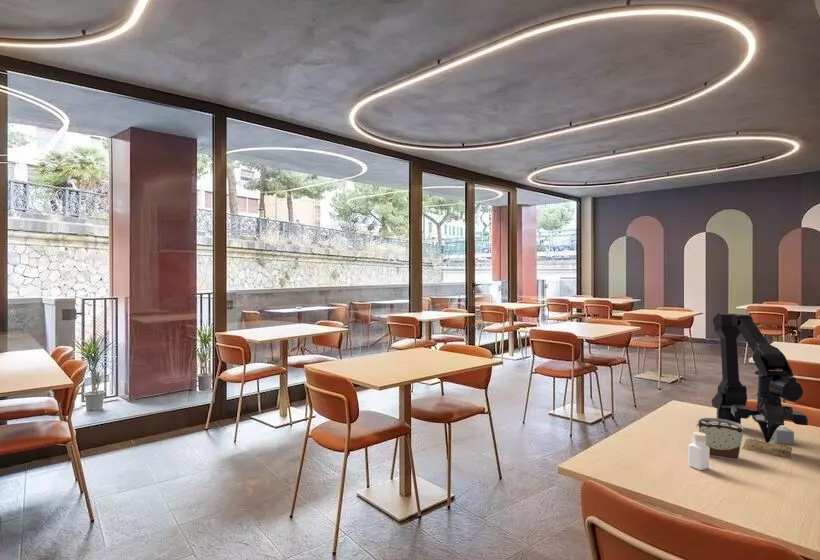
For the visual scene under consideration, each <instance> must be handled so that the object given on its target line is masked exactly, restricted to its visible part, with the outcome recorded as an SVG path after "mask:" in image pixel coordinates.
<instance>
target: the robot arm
mask: <svg viewBox="0 0 820 560" xmlns="http://www.w3.org/2000/svg"><path fill="white" fill-rule="evenodd" d="M712 324H713V327H714V328H713V329H714V331H715V334H716V335H717V336H718V337H719V338H720V353H721V355H720V356H721V375H722V380H721V381H720V383H719V384H718V386H717V393H716V394H715V395H714V396H713V398H712V399H711V405H712V407H714V408H715V409H716V418H718V419H724V420H729V421H733V422H736V423H738V424H741V425H742V423H741V422H742V421H741V420H742V419H745V420H747V419H749V418H750V417H751V418H752V419H753V421H754V422H755V423H757V424H758V426H759V428H760V431H761V434H762V436H763V439H764V442H768V443H771V442H770V441H772V440H771V438H772V436H773V434H774V432H775V430H776V429H777V428H778V427H781V426H785V421H788V420H789V421H792V422H793V424H795V425H800V426H808V425H809V419H808V416H807V415H805V414H804V413H803V412H801V411H797V410H794V409H793V407H792V406H786V405H785V406H784V405H783V404H782V399H784V400H787V401H790V402H795V401H799V400H800V399H801V398H802V396H803V394H804V390H803V387H802V386H801V384H800V383H798V382H797V378H796V377H795V376H794V374H793V370H792V368H791V366H790V363H789V362H788V359H787V357H786V356H785V354H784V353H783V352H782V351H781V350H780V349H779V348H778V347H777V346H774V345H772V344H770V343H769V342H768V340H767V339H766V338H765V336H764V335H763V334H762V331H760V329H759V328H758V326H757V325H756V324H755V322H754V318H753V317H752V316H751V315H749V314H738V313H723V312H722V313H720V312H719V313H717V314H716V315H715V316H714V317H713V318H712ZM740 334H741V335H740ZM740 336H742V337H743V339H744V341H745V342H746V344H747V345H749V348H750V349H751V351H752V361H753V363H754V364H755V366H756V368H757V369H758V370H755V372H754V374H755V375H756V376H758V378H757V379H758V380H757V381H758V382H757V384H758V385H757V393H756V394H757V395H756V396H757V402H756V403H757V405H756V409H751V408H748V407H747V402H748V393H747V389H748V388H747V387H746V385H743V384H742V383H741V380H740V373H739V370H740V369H739V354H738V353H739V352H738V338H739V337H740Z"/></svg>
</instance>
